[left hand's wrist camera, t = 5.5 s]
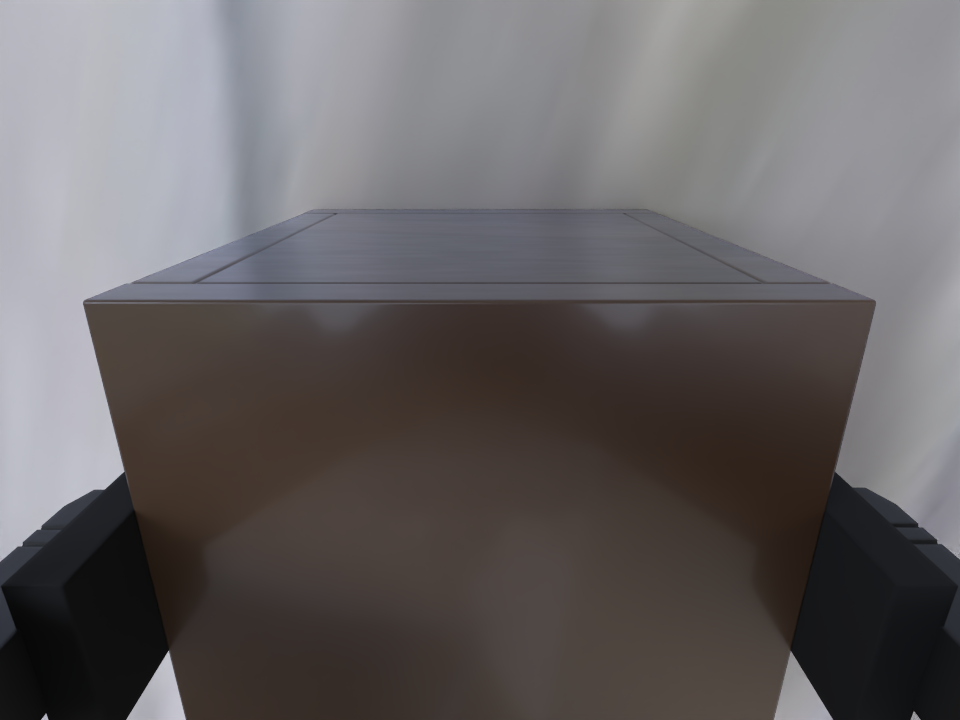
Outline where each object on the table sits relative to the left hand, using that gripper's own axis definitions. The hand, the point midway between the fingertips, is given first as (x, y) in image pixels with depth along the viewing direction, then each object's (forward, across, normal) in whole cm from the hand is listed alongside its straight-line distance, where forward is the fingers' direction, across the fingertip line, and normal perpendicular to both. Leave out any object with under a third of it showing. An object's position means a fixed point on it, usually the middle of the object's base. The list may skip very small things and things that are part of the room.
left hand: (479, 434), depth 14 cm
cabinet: (+6, 0, +5) cm, 8 cm away
